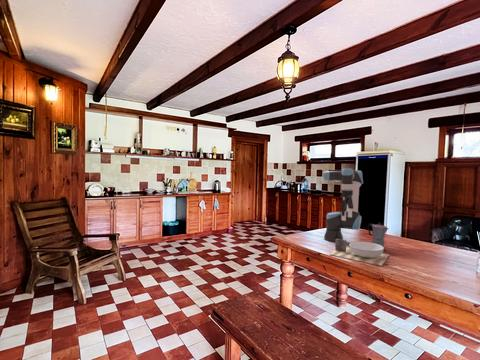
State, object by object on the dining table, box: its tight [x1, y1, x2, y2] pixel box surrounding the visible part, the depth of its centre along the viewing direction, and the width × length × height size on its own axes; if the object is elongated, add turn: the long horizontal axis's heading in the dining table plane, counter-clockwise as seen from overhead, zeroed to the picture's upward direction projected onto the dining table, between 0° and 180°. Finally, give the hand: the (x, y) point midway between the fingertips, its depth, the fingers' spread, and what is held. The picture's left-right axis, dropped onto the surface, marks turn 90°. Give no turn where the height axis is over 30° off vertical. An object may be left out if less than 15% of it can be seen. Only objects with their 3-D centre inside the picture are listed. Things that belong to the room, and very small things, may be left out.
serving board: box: [329, 239, 390, 267], centre depth 174 cm, size 32×25×9 cm
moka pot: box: [367, 222, 389, 248], centre depth 190 cm, size 10×15×20 cm, turn 39°
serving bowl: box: [348, 241, 385, 258], centre depth 172 cm, size 21×21×7 cm
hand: (346, 218), depth 184 cm, fingers open, 13 cm apart
